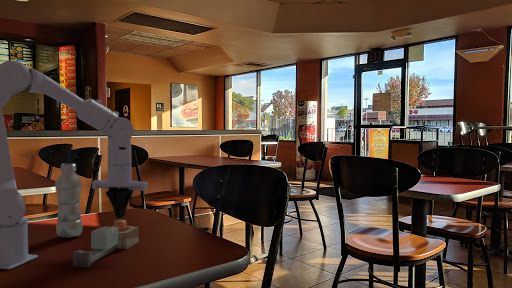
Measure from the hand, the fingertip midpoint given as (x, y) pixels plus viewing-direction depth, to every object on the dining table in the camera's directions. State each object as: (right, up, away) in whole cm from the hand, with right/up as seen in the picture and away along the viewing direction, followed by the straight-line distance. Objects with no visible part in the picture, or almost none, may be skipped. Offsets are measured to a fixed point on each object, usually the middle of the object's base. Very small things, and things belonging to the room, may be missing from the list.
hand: (120, 217), depth 98 cm
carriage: (-1, -6, -6) cm, 9 cm away
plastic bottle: (-16, -7, +7) cm, 19 cm away
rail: (-2, -8, -9) cm, 12 cm away
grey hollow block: (0, -7, 0) cm, 7 cm away
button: (0, -5, 0) cm, 5 cm away
